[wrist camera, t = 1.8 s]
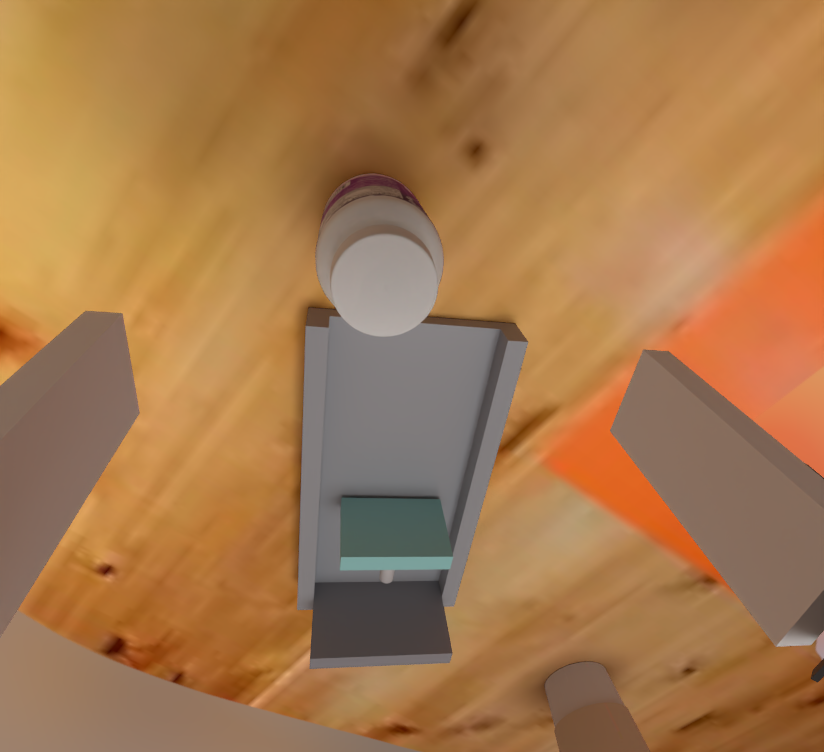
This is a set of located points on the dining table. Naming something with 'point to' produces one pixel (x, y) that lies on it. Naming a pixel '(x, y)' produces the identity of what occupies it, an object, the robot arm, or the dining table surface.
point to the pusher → (393, 535)
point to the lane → (396, 471)
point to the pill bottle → (378, 256)
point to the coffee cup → (590, 711)
